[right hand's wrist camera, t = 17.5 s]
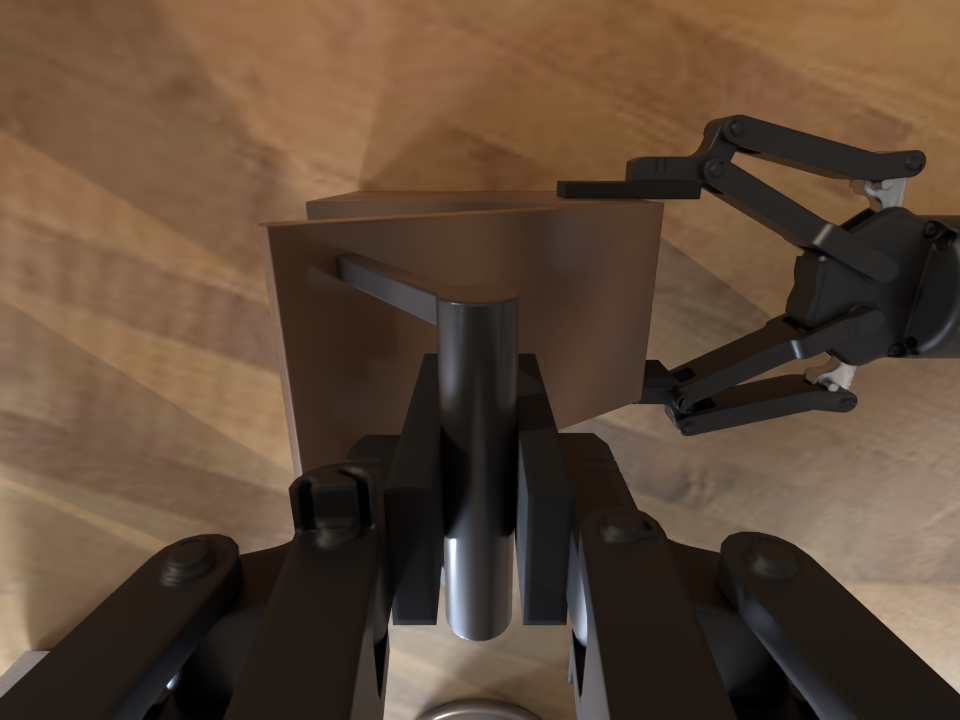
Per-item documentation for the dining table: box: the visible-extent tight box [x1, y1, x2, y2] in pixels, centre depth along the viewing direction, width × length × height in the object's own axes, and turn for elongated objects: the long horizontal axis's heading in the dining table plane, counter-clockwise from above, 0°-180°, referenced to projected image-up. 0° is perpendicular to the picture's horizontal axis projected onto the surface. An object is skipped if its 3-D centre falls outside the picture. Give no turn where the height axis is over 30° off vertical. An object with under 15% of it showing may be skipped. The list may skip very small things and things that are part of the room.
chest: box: [306, 191, 650, 220], centre depth 29 cm, size 15×9×10 cm, turn 90°
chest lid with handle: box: [258, 201, 664, 641], centre depth 17 cm, size 16×9×9 cm
